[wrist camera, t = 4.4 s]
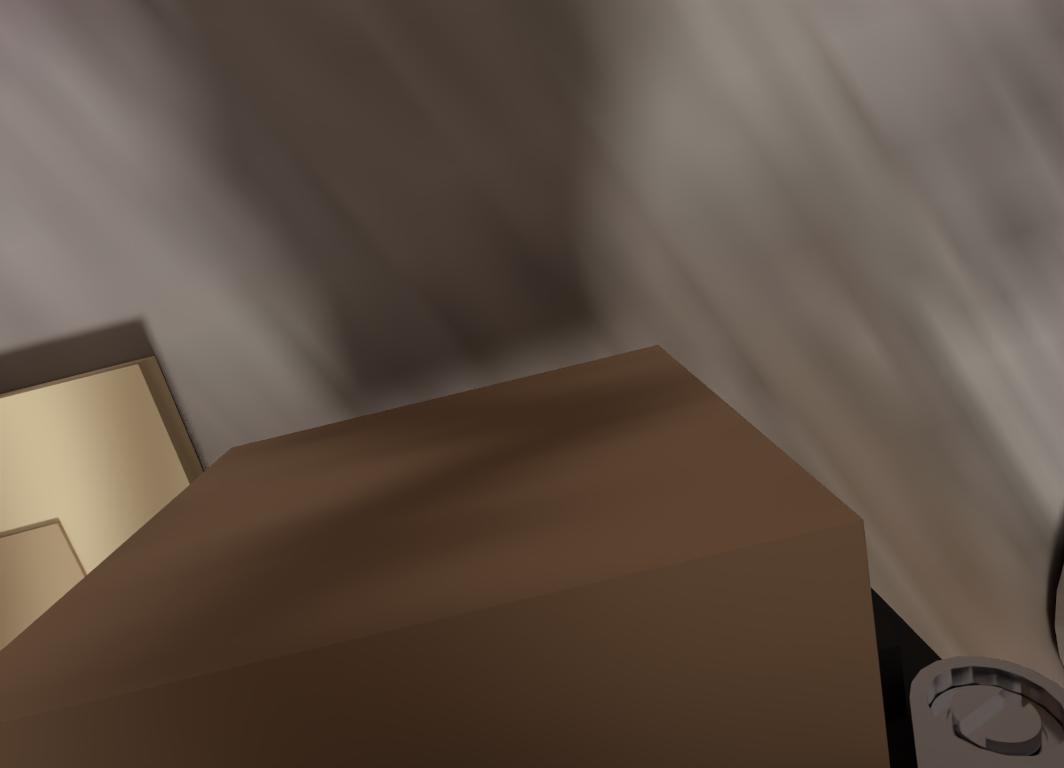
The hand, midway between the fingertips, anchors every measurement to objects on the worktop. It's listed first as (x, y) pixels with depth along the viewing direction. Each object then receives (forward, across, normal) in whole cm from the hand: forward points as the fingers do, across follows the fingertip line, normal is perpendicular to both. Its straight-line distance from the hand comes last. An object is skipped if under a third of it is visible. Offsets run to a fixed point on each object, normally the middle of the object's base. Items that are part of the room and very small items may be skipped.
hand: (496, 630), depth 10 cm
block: (+1, 0, 0) cm, 1 cm away
